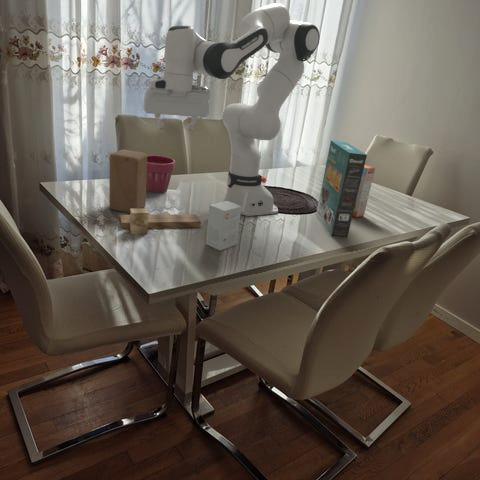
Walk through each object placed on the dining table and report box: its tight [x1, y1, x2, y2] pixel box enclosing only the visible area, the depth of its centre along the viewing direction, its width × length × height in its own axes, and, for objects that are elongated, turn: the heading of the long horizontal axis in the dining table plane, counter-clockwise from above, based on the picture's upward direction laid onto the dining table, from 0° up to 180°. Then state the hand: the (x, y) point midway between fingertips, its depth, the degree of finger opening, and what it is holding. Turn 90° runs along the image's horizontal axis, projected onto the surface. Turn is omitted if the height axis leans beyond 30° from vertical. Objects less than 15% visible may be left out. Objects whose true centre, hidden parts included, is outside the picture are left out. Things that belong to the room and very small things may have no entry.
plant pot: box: [146, 154, 176, 193], centre depth 175 cm, size 14×14×13 cm
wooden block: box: [109, 149, 148, 214], centre depth 149 cm, size 10×10×20 cm
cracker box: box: [352, 164, 376, 218], centre depth 177 cm, size 14×6×21 cm, turn 38°
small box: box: [205, 200, 242, 252], centre depth 131 cm, size 8×6×13 cm
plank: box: [119, 213, 202, 230], centre depth 143 cm, size 26×7×2 cm, turn 109°
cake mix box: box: [315, 140, 368, 239], centre depth 156 cm, size 22×6×30 cm, turn 5°
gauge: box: [129, 207, 149, 235], centre depth 136 cm, size 5×9×7 cm, turn 20°
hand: (175, 129), depth 135 cm, fingers open, 8 cm apart
